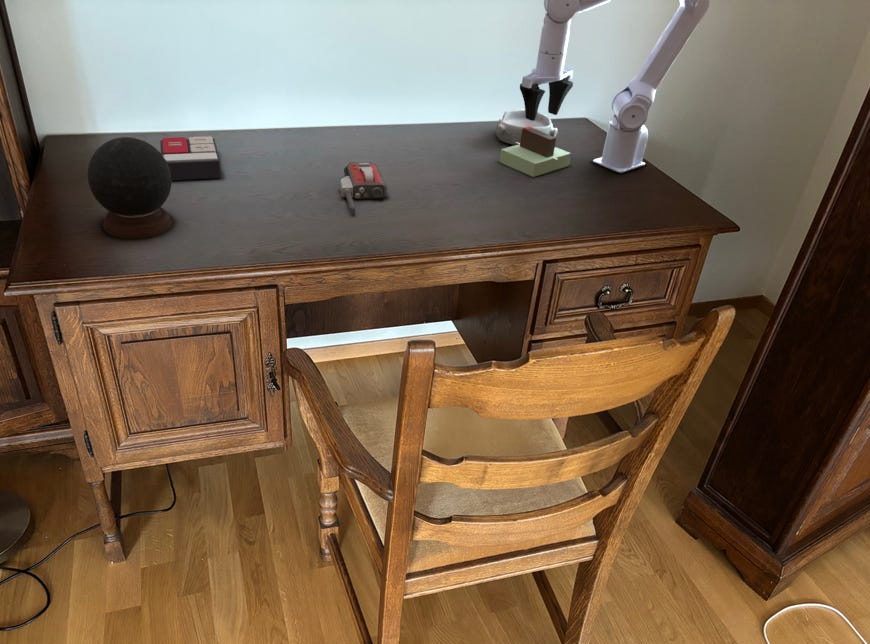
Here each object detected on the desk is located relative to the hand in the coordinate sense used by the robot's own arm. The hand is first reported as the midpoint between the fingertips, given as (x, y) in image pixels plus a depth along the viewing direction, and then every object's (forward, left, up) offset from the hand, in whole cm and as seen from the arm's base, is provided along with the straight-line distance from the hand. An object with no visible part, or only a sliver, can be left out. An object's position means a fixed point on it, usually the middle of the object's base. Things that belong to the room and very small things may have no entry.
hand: (541, 116), depth 164 cm
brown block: (+3, +3, -6) cm, 8 cm away
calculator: (+67, -35, -10) cm, 76 cm away
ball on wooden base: (+87, -16, -10) cm, 89 cm away
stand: (+3, +3, -9) cm, 10 cm away
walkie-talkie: (+46, -5, -10) cm, 47 cm away
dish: (-7, -10, -10) cm, 16 cm away
